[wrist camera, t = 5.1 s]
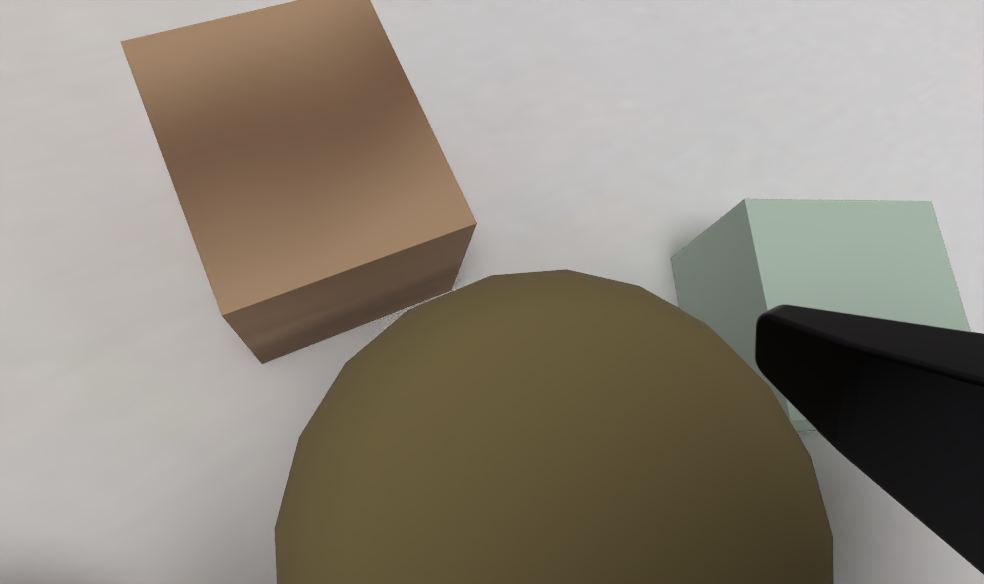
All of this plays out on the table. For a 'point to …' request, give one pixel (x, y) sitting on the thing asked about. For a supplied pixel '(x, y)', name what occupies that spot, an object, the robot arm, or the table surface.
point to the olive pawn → (551, 451)
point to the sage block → (817, 268)
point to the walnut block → (302, 169)
